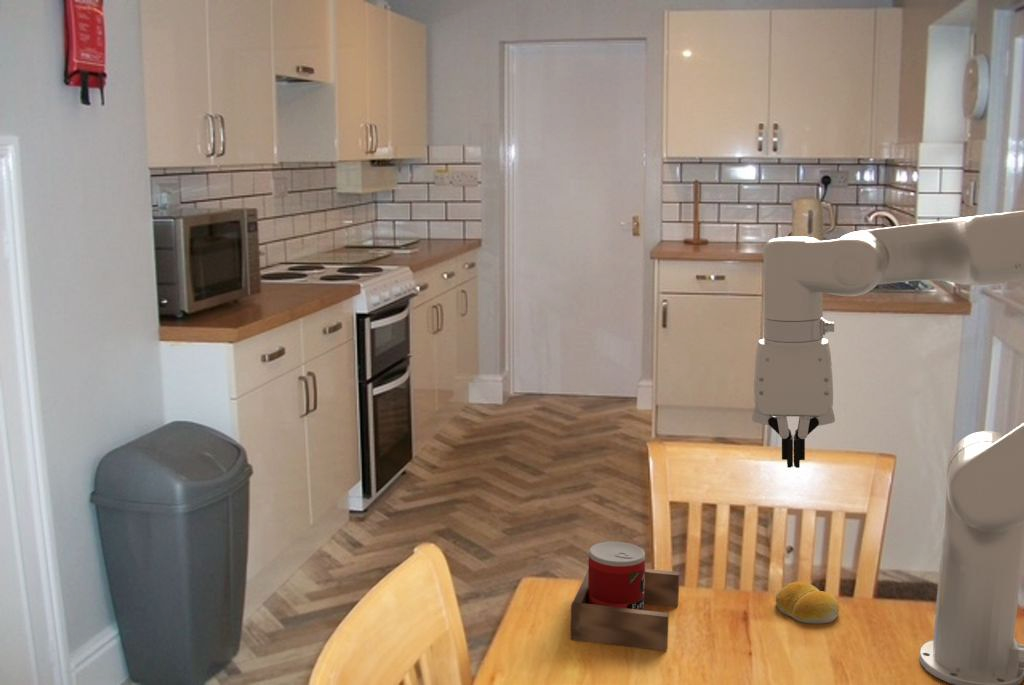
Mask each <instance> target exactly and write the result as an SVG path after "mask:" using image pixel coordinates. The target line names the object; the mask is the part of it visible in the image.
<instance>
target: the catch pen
mask: <svg viewBox="0 0 1024 685" xmlns="http://www.w3.org/2000/svg"><path fill="white" fill-rule="evenodd" d="M679 593H680V572H679V571H671V570H661V569H652V568H645V585H644V605H647V604H648V605H654V606H655V605H656V606H663V607H670V608H679V607H678V606H679V596H680V594H679ZM669 614H670V613H669V612H662V611H653V610H637V609H628V608H619V607H611V606H602V605H593V604H588V571H587V572H586V574H585V576H584V578H583V580H582V582H581V585H580V587H578V590H577V593H576V595H575V597H574V599H573V601H572V603H571V606H570V640H572V641H576V642H577V641H578V642H579V641H580V642H585V643H586V642H587V643H594V644H603V645H611V646H619V647H620V646H621V647H626V648H627V647H629V648H635V649H643V650H653V651H659V652H668V647H669V646H668V644H669V643H668V642H669Z"/></svg>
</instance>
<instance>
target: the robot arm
mask: <svg viewBox="0 0 1024 685" xmlns="http://www.w3.org/2000/svg"><path fill="white" fill-rule="evenodd" d="M916 281H942V282H949V283H954V284H958V285H963V286H986V285H995V284H1005V283H1015V282H1024V209H1023V210H1016V211H1015V210H1014V211H1008V212H999V213H990V214H982V215H973V216H965V217H956V218H951V219H946V220H942V221H935V222H933V221H932V222H925V223H916V224H907V225H898V226H890V227H882V228H873V229H865V230H857V231H852V232H849V233H846V234H844V235H842V236H841V237H840V238H836V239H829V240H819V239H817V238H815V237H809V236H784V237H782V236H781V237H776V238H772V239H769V240H768V241H767V242H766V243H765V245H764V248H763V338H762V339H759V340H758V341H757V346H756V353H755V362H754V379H753V380H754V383H753V398H754V407H753V408H754V409H753V413H752V417H751V418H752V421H753V422H754V423H757V424H761V425H767V426H769V427H770V428H771V429H773V430H774V431H775V433H777V434H778V435H779V437H780V438H781V460H783V461H785V460H786V465H787V466H786V467H787V468H792V467H795V469H800V468H801V467H800V464H801V463H800V461H805V459H806V452H805V451H806V439H807V437H808V435H809V434H811V433H812V432H813V431H814V430H815V429H816V428H817V427H819V426H820V427H821V426H825V425H830V424H833V423H835V421H836V418H835V413H834V410H833V405H834V382H833V381H834V380H833V365H832V364H833V363H832V359H831V358H832V357H831V349H830V345H829V340H828V339H827V338H824V336H826V334H829V333H834V332H835V322H834V321H828V320H826V319H824V318H823V316H824V315H823V314H824V313H823V312H824V310H823V308H824V304H823V303H824V297H823V296H824V294H828V295H836V296H840V297H841V296H843V297H857V296H862V295H865V294H867V293H869V292H870V291H872V290H873V289H875V287H877V285H884V284H897V283H904V282H916ZM787 417H798V424H797V428H796V430H795V431H794V434H792V430H791V429H789V424H788V419H787ZM1022 418H1023V419H1022V423H1021V424H1020V425H1019V426H1017V427H1015V428H1014V429H1013V430H1011V431H1009V432H1008V433H1006V434H1004V433H1002V432H999V431H993V430H981V431H976V432H973V433H969V434H968V435H966V436H965V437H963V438H962V439H960V441H958V442H957V443H956V444H955V446H954V447H953V448H952V451H951V452H950V454H949V457H948V460H947V465H946V477H945V496H944V513H943V524H942V535H941V545H940V547H941V548H940V555H939V556H940V557H939V558H940V559H939V567H938V568H939V569H938V581H937V590H936V592H937V593H936V605H935V613H934V614H935V615H934V616H935V617H934V629H933V639H931V640H930V641H927V642H925V643H924V644H923V645H921V647H920V649H919V655H918V658H919V662H920V664H921V666H922V667H923V668H924V669H925V671H927V672H928V673H929V674H931V675H932V676H934V677H936V678H938V680H941V681H943V682H945V683H948V684H951V685H1020V684H1021V683H1023V681H1024V643H1019V641H1017V640H1016V638H1015V632H1016V622H1017V612H1018V604H1019V593H1020V581H1021V573H1022V572H1021V571H1022V563H1023V556H1024V416H1023V417H1022Z"/></svg>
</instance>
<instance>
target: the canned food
mask: <svg viewBox="0 0 1024 685" xmlns="http://www.w3.org/2000/svg"><path fill="white" fill-rule="evenodd" d="M588 550H589V552H588V566H587V567H588V569H587V572H588V604H593V605H602V606H611V607H619V608H628V609H637V610H644V609H645V603H644V585H645V569H646V553H645V550H644V549H643V548H642V547H641V546H638V545H636V544H633V543H628V542H625V541H624V542H623V541H603V542H599V543H596V544H594V545H592V546H591V547H590V548H589V549H588Z"/></svg>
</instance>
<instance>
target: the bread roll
mask: <svg viewBox="0 0 1024 685" xmlns="http://www.w3.org/2000/svg"><path fill="white" fill-rule="evenodd" d="M775 605H776V607H777V608H778V609H779V611H780V612H781V613H782V614H784V615H785V616H788V617H791V618H792V619H794V620H796V621H797V622H800V623H803V624H809V625H810V624H813V625H814V624H821V625H822V624H827V623H831V622H833V621H834V620H836V619H837V617H838V615H839V613H840V612H839V611H840V605H839V602H838V600H837V598H836V597H835V596H834V595H833V594H831V593H830V592H827V591H824V590H823V591H821V590H820V589H818V588H817V587H816V586H814V585H813V584H811V583H809V582H806V581H793V582H790V583H788V584H786V585H785V586H783V587H782V588H781V589H779V590H778V591H777V593H776V595H775Z"/></svg>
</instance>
